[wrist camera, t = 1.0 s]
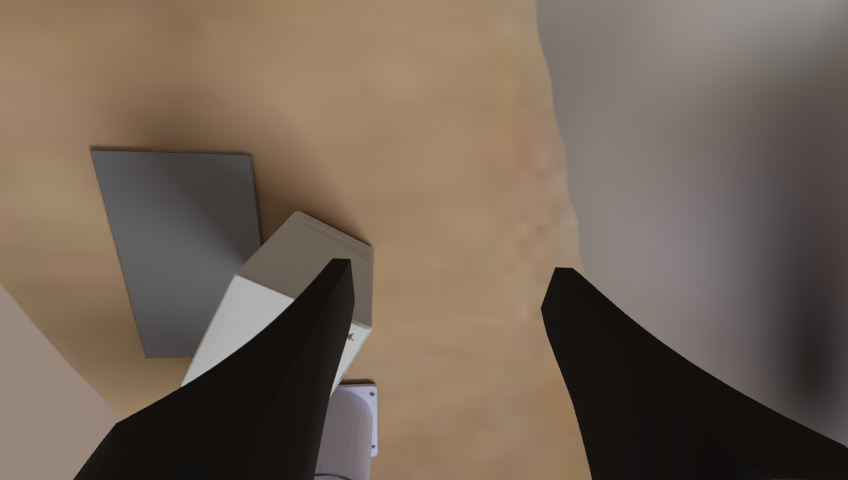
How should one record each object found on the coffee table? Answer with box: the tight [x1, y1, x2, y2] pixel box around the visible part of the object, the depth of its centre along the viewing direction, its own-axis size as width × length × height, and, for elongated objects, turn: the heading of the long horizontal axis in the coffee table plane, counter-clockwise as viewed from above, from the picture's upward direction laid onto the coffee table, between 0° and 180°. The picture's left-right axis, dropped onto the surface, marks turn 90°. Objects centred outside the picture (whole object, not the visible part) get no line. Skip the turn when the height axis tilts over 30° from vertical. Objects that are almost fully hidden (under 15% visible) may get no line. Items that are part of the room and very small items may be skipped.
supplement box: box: [181, 210, 374, 397], centre depth 23 cm, size 7×7×13 cm
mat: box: [90, 150, 262, 358], centre depth 27 cm, size 18×11×1 cm, turn 178°
